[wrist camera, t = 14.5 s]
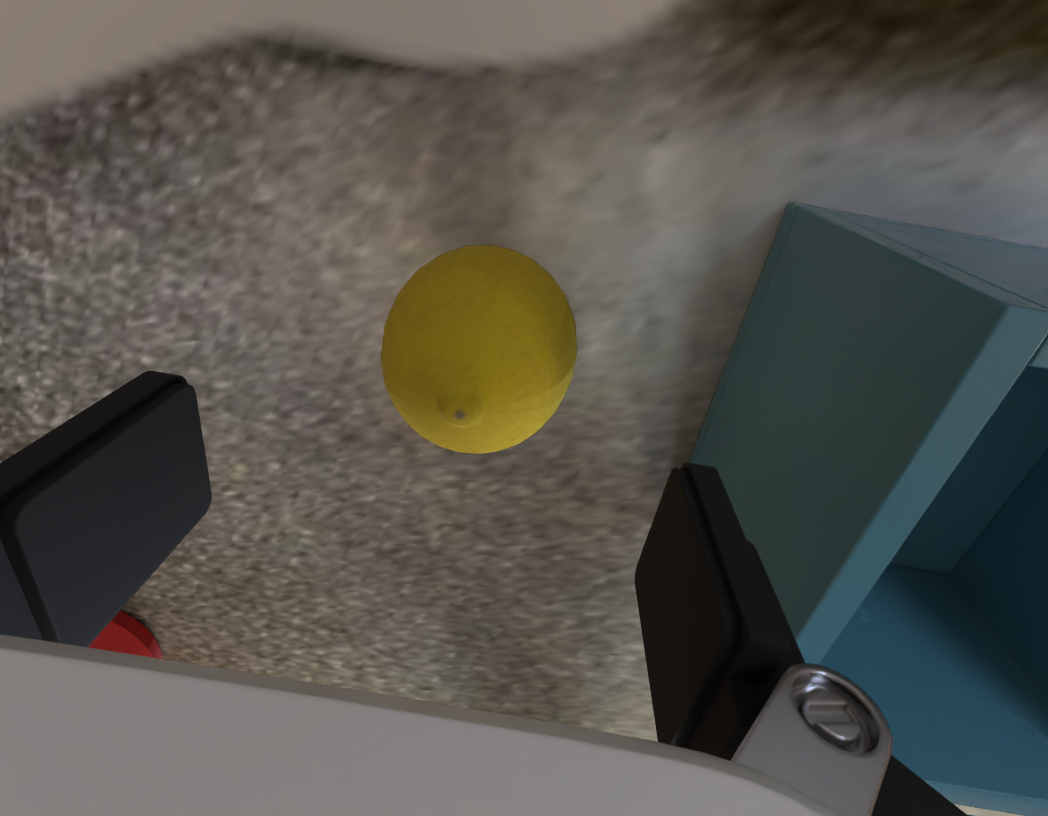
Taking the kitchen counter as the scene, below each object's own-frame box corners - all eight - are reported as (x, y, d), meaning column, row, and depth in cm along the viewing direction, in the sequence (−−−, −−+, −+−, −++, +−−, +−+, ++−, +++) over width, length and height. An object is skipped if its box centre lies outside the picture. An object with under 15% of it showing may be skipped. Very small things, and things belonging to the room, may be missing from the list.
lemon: (449, 383, 21) (391, 522, 14) (399, 242, 19) (298, 328, 12) (589, 355, 20) (599, 490, 13) (557, 202, 18) (548, 270, 11)
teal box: (788, 201, 17) (1008, 305, 9) (1181, 272, 17) (1782, 445, 9) (663, 526, 24) (715, 765, 15) (945, 575, 24) (1151, 837, 16)
